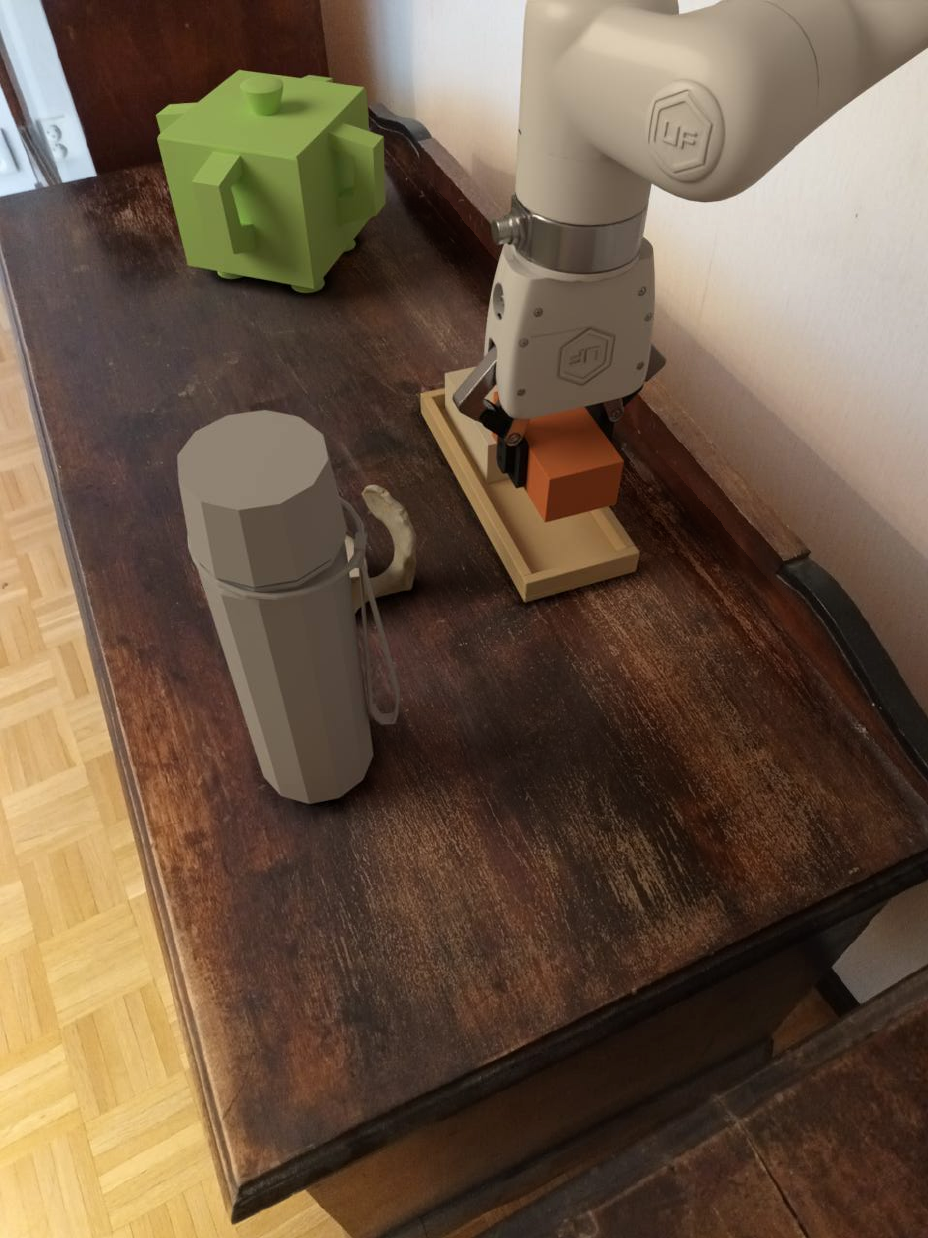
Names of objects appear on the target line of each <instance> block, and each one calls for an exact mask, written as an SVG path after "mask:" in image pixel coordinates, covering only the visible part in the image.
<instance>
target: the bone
mask: <svg viewBox="0 0 928 1238" xmlns="http://www.w3.org/2000/svg"><path fill="white" fill-rule="evenodd" d="M361 496H362V499H363V500H364V502H365V504H366V506H367V508H368V510H369V511H370V512H371V514H372V515H373V516H374V517H375V518H376V519H377V520H379V521H380V522H382V523H383V525H385V527H386V528H387V529H388V532H389V533H390V535H391V538H392V541H393V546H394V555H393V559H392V562H391V563H390V565H389V566H388V568H387V569H386V570H385V571H383V572H382V573H381V574H379V575H377V576H374V577H369V580H370V583H371V587H372V591H373V594H374V598H375V599H376V598H377V599H378V598H381V597H384V596H389V595H393V594H396V593H399V592H400V593H401V592H404V591H405V592H407V591H411V590H412V588H413V583H414V579H415V574H416V568H417V567H416V566H417V554H416V553H417V549H416V548H417V547H416V546H417V534H416V532H415V529H414V527H413V524H412V522H411V519H410V517H409V513H408V511H407V510H406V508H405V507H404V505H403V504H402V503H400V502H399V501H398V500H396V499H394V498H393V496H392V495H391V493H390V492H389V491H388V490H387V489H386V488H384V487H382V486H380V485H377V484H369V485H367V486H366V487H365V488H364V489H363V491H362V492H361ZM354 541H355V538H353V537H351V536H349V535H348V534H346V539H345V545H346V551H347V558H348V562H349V560H350V559H351V557H352V556H353V554H354ZM364 562H365V566H366V569H367V570H368V561H367V558H366V556H365V557H364ZM349 574H350V581H351V589H352V596H353V604H354V611H355V614H357V612H358V610H360V608H361V596H360V581H359V568H354V569H353V570H351V571H350V572H349ZM363 584H364V596H365V604H366V603H368V602H370V601H369V597H368V593H367V590H366V586H365V582H364V579H363Z"/></svg>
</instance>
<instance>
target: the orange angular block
mask: <svg viewBox="0 0 928 1238" xmlns="http://www.w3.org/2000/svg"><path fill="white" fill-rule="evenodd" d="M498 398H499V396H498V391H497V392H494V402H493V403H494V404H495V405H496V403H497V400H498ZM492 436H493V438H494V439H495V441H496V443H497V435H496V434H494V433H493V432H492ZM524 437H525V439H526V440H527V442H528V444H529V448H528V461H527V473H526V484H525V485H524V489H525V491H526V492H527V494H528V496H529V497H530V499H531V501H532V502H533V504H534V506H535V507H536V509H537V511H538V512H539V514H540V515H541V517H542V519H543V520H544V522H545V523H546V522H550V521H554V520H558V519H561V518H565V517H569V516H573V515H577V514H581V513H584V512H588V511H592V510H596V509H600V508H603V507H607V506H609V507H610V506H615V505H616V504H617V500H618V496H619V491H620V490H619V489H620V485H621V480H622V473H623V468H624V464H625V460H624V459H623V457H622V456H621V455H620V453H619V451H617V449H616V448H615V447H614V445H613V444H612V441H611V442H610V441H609V440H608V438H607V437H606V436H605V434H604V433H603V431H602V430H601V429H600V428H599V426H598V425H597V423H596V422H595V421H594V419H593V418H592V416H591V415H590V414H589V412H588V411H587V410H586V408H585V407H580V408H576V409H572V410H568V411H563V412H559V413H555V414H550V415H546V416H541V417H536V418H531V420H530V422H529V424H528V426H527V429H526V431H525V433H524Z"/></svg>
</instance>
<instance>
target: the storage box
mask: <svg viewBox="0 0 928 1238" xmlns="http://www.w3.org/2000/svg"><path fill="white" fill-rule="evenodd" d="M333 79H334V78H333V77H327V76H319V75H313V74H312V75H311V74H308V75H305V76H303V77H293V76H288V75H281V74H280V75H279V74H272V73H271V74H270V73H265V72H256V71H250V70H249V71H248V70H242V69H238V70H237V71H235V72H234V73H233V74H232V75H230V76H229V77H228V78H226V79H225V80H224V81H223V82H221V83H220V84H218V86H217V87H215V88H214V89H213V90H211V91H210V92H209V93H208V94H206V95H205V96H204V97H203V98H201V99H200V100H199V101H198V102H187V103H186V102H185V103H171V104H168V105H167V106H165V107H164V108H163V109H162V110H161V111H159V112H158V113H157V114H155V118H156V121H157V124H158V128H159V132H160V133H159V134H158V136H157V138H156V140H157V144H158V148H159V152H160V153H159V154H160V156H161V160H162V164H163V165H162V166H163V169H164V172H165V178H166V181H167V185H168V189H169V194H170V197H171V201H172V206H173V211H174V214H175V218H176V219H175V220H176V222H177V226H178V230H179V235H180V239H181V244H182V248H183V251H184V255H185V259H186V264H187V266H189V267H193V268H199V269H204V270H211V271H216V272H217V275H218V276H219V277H221V278H223V279H228V280H235V279H240V278H243V277H249V278H254V279H259V280H264V281H269V282H275V283H276V282H277V283H281V284H286V285H290V286H291V287H290V288H292V290H294V291H296V292H298V293H302V294H310V293H311V294H312V293H314V292H318V291H320V290H322V289H323V287H325V283H326V282H325V279H324V277H325V276H326V275H327V273H329V271H330V270H331V269H332V267H333V266H334V265H335V263H336V262H337V261H338V260H339V258H340V257H341V256H342V255H343V254H344V253H346V252H348V251H351V250H353V249H354V248H356V247H355V246H356V241H355V238H356V237H357V236H358V234H359V233H360V232H361V231H362V230H363V228H364V227H365V225H367V223H368V222H369V220H370V219H371V218H373V217H376V216H377V215H378V214H379V213H380V211H381V210H382V209H383V207H384V206H385V205H386V202H387V201H386V200H387V199H386V176H385V175H386V171H385V169H386V168H385V167H386V166H385V139H384V135H381V134H378V133H375V132H372V131H370V123H369V108H368V93H367V89H366V88H365V86H358V85H349V84H343V83H337V82H334V80H333Z"/></svg>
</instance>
